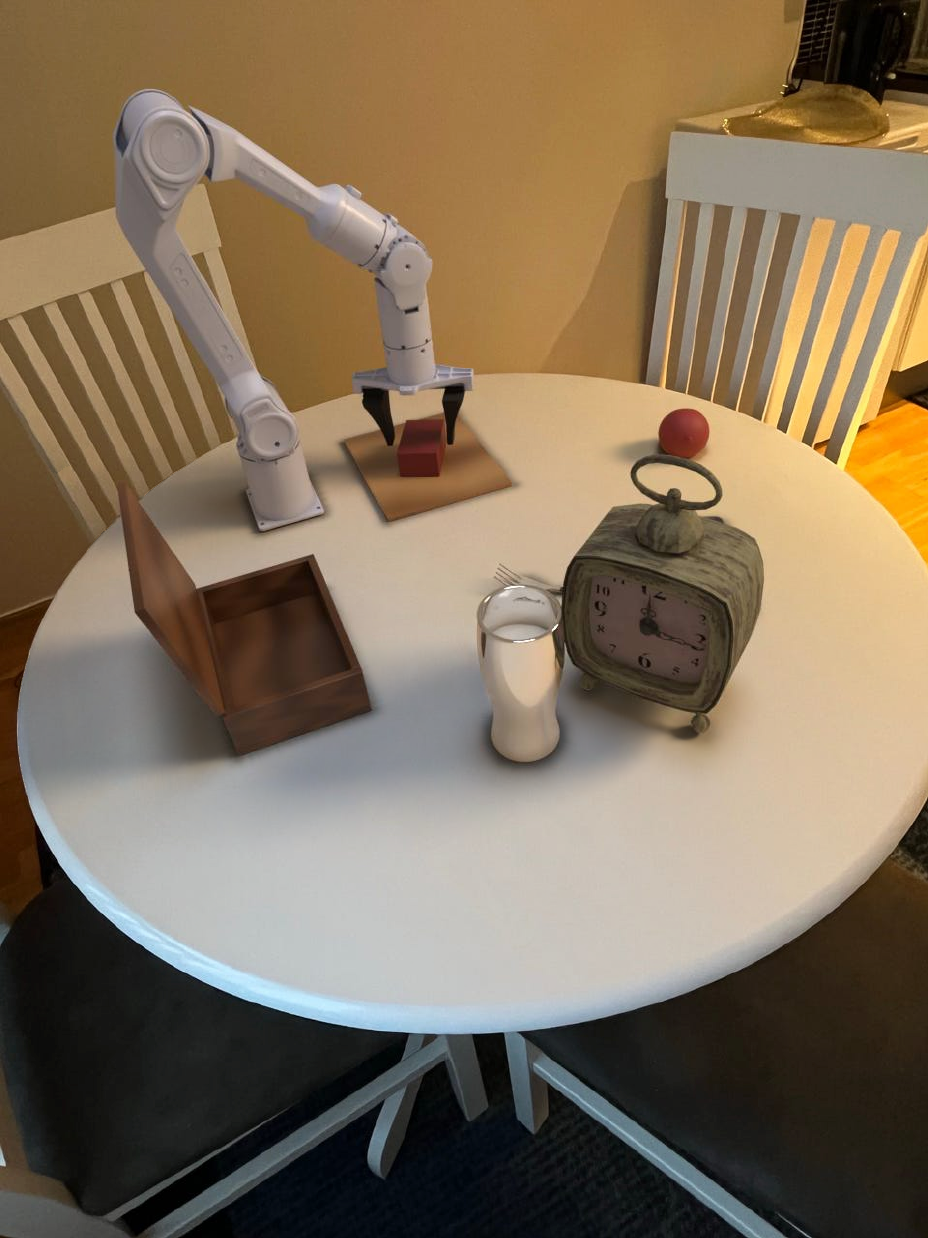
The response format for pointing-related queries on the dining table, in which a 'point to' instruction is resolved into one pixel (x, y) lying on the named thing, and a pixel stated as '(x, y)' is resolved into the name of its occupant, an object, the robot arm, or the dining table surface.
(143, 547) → the lid
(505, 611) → the beer glass
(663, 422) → the fruit
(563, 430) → the dining table surface
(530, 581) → the fork
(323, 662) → the chest
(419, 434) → the dark-red plain block
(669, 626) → the tabletop clock
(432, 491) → the wooden board
